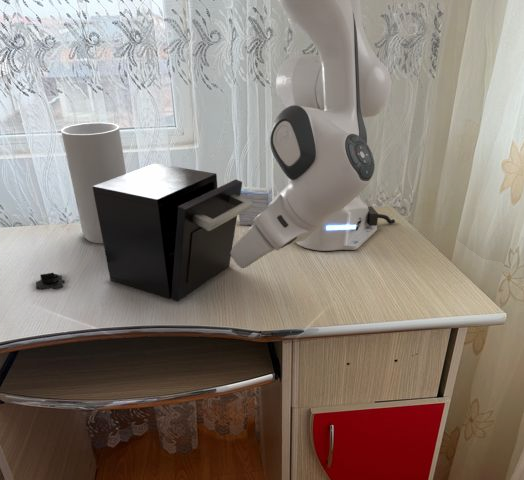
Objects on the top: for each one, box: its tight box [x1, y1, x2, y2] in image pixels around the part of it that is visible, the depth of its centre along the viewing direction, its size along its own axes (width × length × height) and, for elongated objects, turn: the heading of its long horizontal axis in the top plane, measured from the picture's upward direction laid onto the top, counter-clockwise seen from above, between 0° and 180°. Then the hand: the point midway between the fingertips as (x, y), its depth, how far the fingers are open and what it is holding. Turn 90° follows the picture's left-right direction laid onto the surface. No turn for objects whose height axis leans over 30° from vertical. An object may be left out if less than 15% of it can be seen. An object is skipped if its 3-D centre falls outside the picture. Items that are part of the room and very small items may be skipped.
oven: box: [92, 163, 218, 300], centre depth 110 cm, size 16×18×20 cm
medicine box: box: [238, 186, 273, 226], centre depth 137 cm, size 8×4×9 cm, turn 77°
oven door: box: [170, 178, 253, 302], centre depth 104 cm, size 6×18×20 cm, turn 148°
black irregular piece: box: [35, 272, 65, 291], centre depth 111 cm, size 6×2×6 cm
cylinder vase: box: [60, 122, 127, 244], centre depth 127 cm, size 12×12×25 cm
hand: (248, 255), depth 102 cm, fingers closed
